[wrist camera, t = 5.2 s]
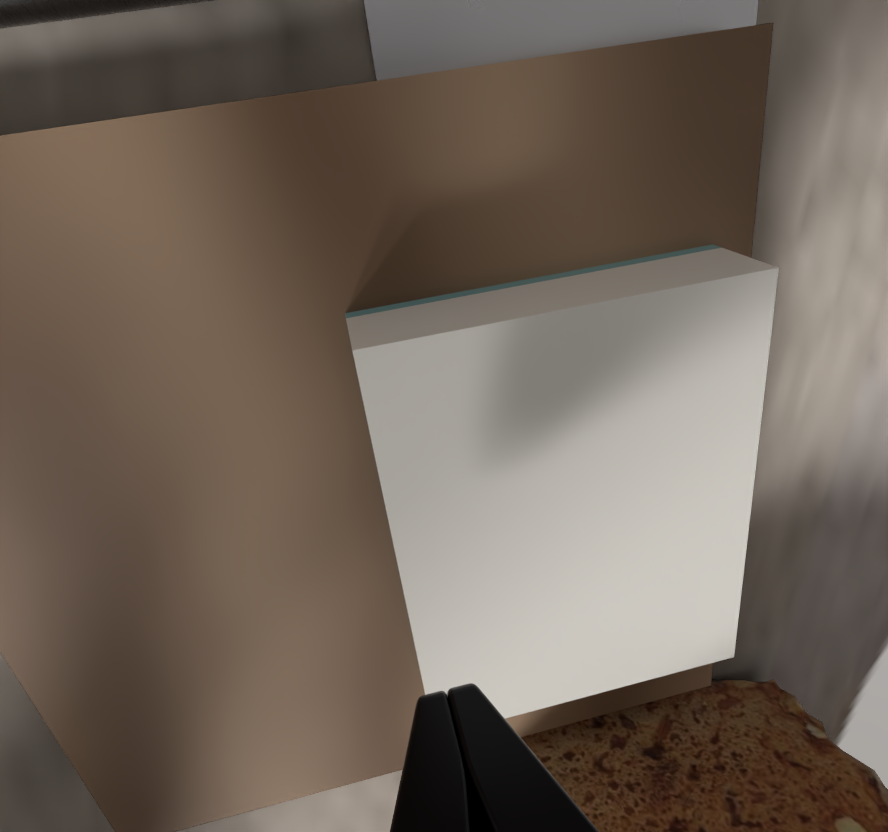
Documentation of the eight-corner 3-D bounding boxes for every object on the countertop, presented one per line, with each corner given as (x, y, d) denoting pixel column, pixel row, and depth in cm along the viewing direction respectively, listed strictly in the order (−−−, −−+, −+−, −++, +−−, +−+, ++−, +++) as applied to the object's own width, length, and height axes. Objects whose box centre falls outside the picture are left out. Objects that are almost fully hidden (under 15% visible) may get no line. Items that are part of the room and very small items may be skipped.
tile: (434, 737, 14) (733, 656, 15) (351, 350, 10) (779, 267, 10) (420, 668, 15) (689, 599, 16) (345, 313, 11) (712, 244, 12)
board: (134, 799, 17) (124, 845, 16) (-236, 171, 10) (-303, 179, 9) (688, 652, 19) (710, 685, 18) (730, 29, 12) (773, 22, 10)
